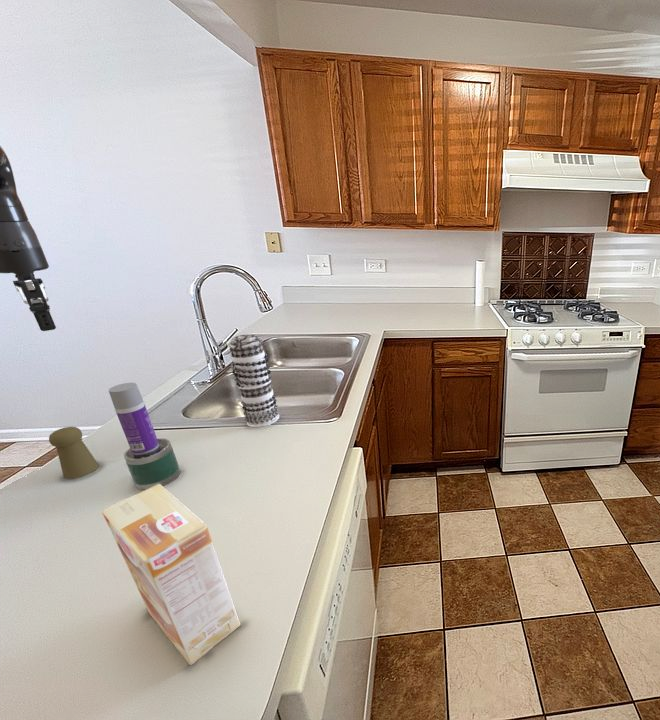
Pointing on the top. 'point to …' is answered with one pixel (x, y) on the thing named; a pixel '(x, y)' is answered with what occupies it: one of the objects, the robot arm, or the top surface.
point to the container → (134, 418)
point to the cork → (73, 453)
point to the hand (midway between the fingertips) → (46, 326)
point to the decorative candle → (253, 380)
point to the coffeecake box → (174, 569)
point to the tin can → (153, 466)
